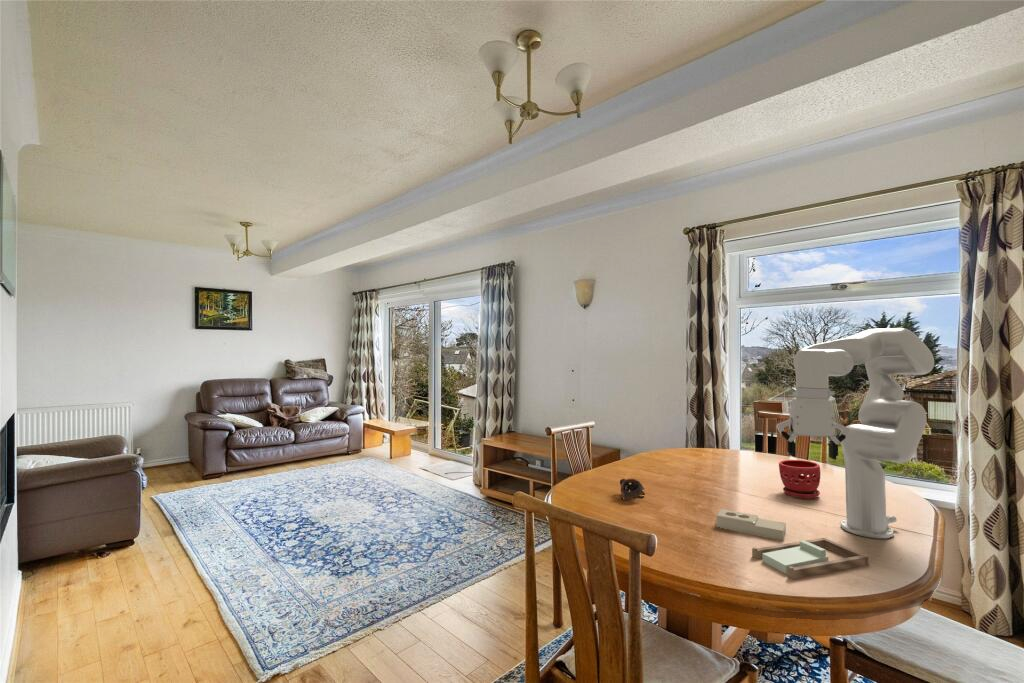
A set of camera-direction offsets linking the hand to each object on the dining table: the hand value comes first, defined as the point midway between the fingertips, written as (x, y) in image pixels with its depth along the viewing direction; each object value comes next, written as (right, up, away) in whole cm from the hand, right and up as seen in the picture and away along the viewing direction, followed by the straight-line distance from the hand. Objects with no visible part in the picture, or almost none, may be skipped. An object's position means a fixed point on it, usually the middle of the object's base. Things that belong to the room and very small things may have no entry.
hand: (812, 457), depth 126 cm
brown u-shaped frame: (-5, -25, -6) cm, 27 cm away
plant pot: (+25, -26, +46) cm, 58 cm away
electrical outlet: (-9, -26, +14) cm, 31 cm away
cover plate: (-9, -26, -7) cm, 28 cm away
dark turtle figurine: (-38, -27, +46) cm, 65 cm away
